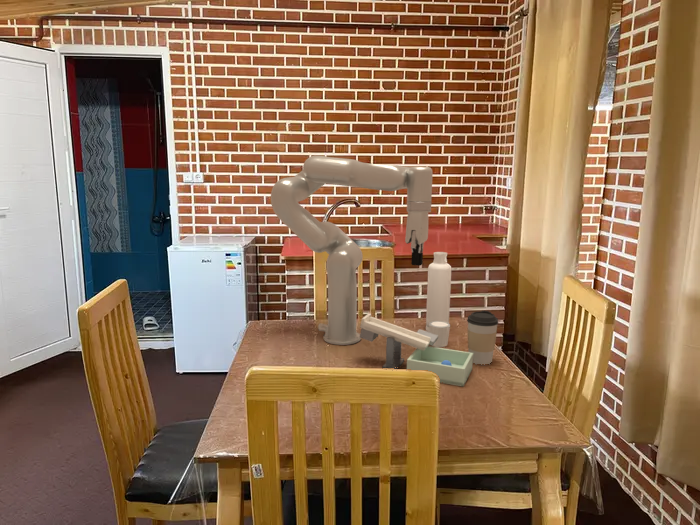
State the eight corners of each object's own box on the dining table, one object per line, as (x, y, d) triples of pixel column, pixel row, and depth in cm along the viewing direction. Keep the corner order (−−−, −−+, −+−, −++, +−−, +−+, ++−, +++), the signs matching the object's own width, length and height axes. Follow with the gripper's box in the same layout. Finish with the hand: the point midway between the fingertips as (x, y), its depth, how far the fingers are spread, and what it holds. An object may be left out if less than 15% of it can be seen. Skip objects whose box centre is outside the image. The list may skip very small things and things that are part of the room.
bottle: (446, 334, 180) (450, 255, 175) (423, 331, 183) (426, 254, 178) (450, 327, 188) (454, 252, 182) (428, 325, 191) (431, 250, 185)
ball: (451, 371, 145) (441, 373, 147) (453, 367, 148) (443, 369, 149) (448, 361, 145) (438, 363, 146) (451, 357, 148) (441, 359, 149)
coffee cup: (490, 369, 151) (493, 319, 148) (460, 362, 156) (463, 314, 153) (499, 359, 159) (502, 312, 156) (470, 353, 164) (473, 307, 161)
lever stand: (382, 368, 151) (383, 337, 149) (391, 358, 158) (392, 329, 156) (395, 371, 149) (396, 339, 147) (404, 361, 157) (405, 331, 155)
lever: (357, 336, 154) (362, 318, 152) (371, 325, 164) (375, 308, 162) (424, 361, 147) (429, 342, 145) (434, 348, 157) (439, 330, 155)
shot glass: (449, 348, 167) (450, 327, 166) (427, 346, 169) (428, 326, 167) (449, 341, 174) (450, 321, 173) (428, 339, 175) (429, 320, 174)
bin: (406, 376, 146) (407, 359, 145) (419, 360, 157) (419, 344, 156) (463, 386, 139) (464, 369, 138) (472, 369, 151) (473, 352, 150)
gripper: (414, 204, 169) (412, 259, 172) (400, 208, 155) (398, 268, 159) (436, 205, 166) (434, 261, 170) (424, 209, 152) (422, 270, 156)
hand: (416, 264), depth 164 cm, fingers closed
